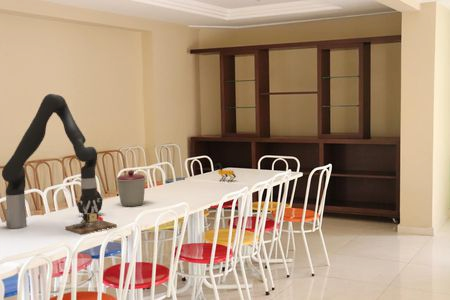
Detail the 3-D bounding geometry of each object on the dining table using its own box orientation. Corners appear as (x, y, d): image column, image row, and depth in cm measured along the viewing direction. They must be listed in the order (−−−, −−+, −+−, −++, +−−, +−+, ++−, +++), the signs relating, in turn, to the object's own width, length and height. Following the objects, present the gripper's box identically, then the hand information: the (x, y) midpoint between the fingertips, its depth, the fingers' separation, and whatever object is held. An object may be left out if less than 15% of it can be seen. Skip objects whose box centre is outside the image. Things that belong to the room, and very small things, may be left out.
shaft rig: (81, 234, 288) (80, 227, 288) (65, 229, 300) (65, 222, 300) (116, 227, 302) (116, 220, 301) (100, 222, 314) (100, 215, 313)
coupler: (89, 226, 298) (89, 214, 298) (85, 225, 301) (85, 213, 301) (96, 225, 301) (96, 213, 300) (92, 224, 304) (92, 212, 303)
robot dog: (216, 179, 447) (216, 162, 445) (236, 181, 437) (235, 163, 435) (212, 181, 442) (211, 163, 441) (232, 182, 432) (231, 164, 431)
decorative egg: (76, 215, 333) (74, 189, 332) (96, 212, 341) (94, 186, 339) (86, 218, 324) (85, 191, 322) (107, 215, 332) (105, 188, 330)
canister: (141, 208, 349) (139, 172, 347) (112, 207, 352) (110, 172, 350) (151, 202, 366) (149, 168, 364) (123, 201, 370) (121, 168, 368)
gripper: (97, 184, 306) (99, 216, 308) (72, 187, 297) (74, 221, 299) (105, 185, 301) (106, 218, 302) (79, 189, 291) (81, 223, 293)
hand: (90, 219), depth 301 cm, fingers open, 4 cm apart
